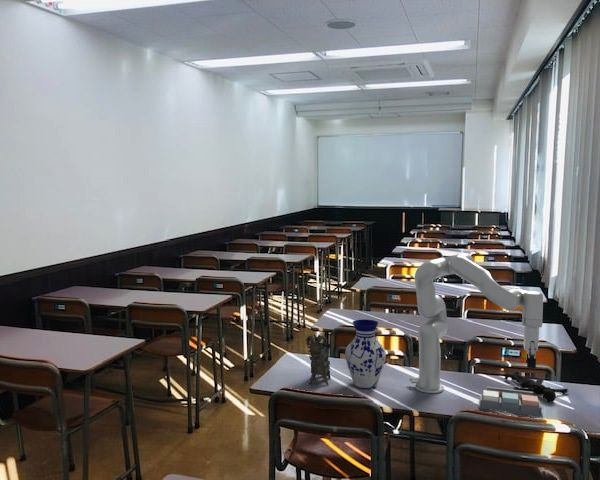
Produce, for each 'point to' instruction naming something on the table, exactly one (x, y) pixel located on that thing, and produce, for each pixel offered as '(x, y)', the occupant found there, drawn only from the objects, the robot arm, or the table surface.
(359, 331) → the vase
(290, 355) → the table surface
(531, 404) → the terracotta key
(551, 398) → the toy
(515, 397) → the teal key
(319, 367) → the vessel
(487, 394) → the cream key
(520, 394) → the keypad
